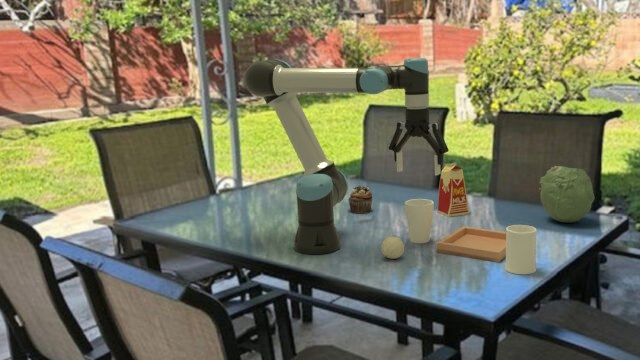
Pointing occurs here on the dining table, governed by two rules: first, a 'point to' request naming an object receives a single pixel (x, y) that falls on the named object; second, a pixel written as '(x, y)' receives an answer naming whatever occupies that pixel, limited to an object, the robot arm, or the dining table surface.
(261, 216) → the dining table surface
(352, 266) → the dining table surface
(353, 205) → the cupcake
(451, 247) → the tray
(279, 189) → the dining table surface
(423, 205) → the foam cup
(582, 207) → the cabbage
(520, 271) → the mug
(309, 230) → the robot arm
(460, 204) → the milk carton
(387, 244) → the beige ball
